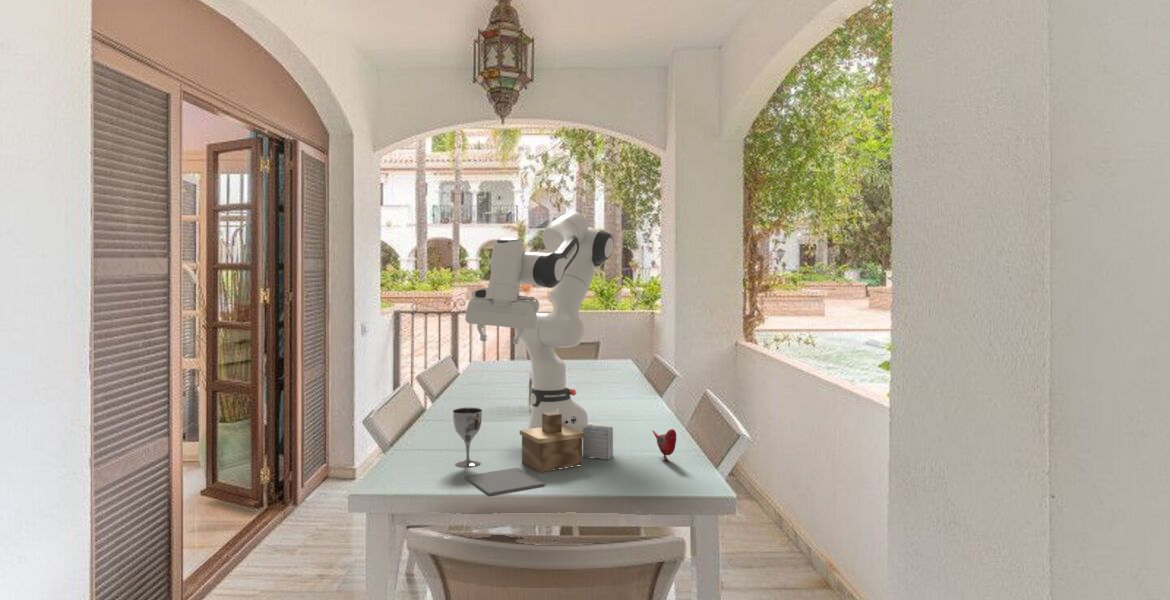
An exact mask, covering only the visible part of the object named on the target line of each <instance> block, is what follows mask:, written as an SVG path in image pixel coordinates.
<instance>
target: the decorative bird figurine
mask: <svg viewBox="0 0 1170 600" xmlns="http://www.w3.org/2000/svg"><path fill="white" fill-rule="evenodd" d="M652 433H653V435H654V437H655V438H656V444H657V447H658V449H659V451H660V453H661V454H662V455H663V457H662V458H663V459H664V461H666V462H667V461H668V463H670V462H671V461H670V460H669V459H668V457H667V456H671V455H672V454H673V453H674V451H675V449H676V444H677V443H676V442H677V432H676V430H675V429H674V428H672V429H669V430H667V431H666V433H664V434H660V435H659V434H657V432H656V431H655V430H652Z"/></svg>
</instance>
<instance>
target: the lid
mask: <svg viewBox="0 0 1170 600" xmlns="http://www.w3.org/2000/svg"><path fill="white" fill-rule="evenodd" d="M519 435H521V437H522V436H524V437H526V438H528V439H530V440H532V441H534V442H537V443H539V444H541V443H548V442H555V441H562V440H569V439H576V438H582V439H583V437H585V433H584V432H581V431H579V430H576V429H574V428H571V427H569V426H566V425H564V424H563V425H562V414H560V413H557V412H546V413H542V427H539V428H531V429H528V428H525V429H519Z"/></svg>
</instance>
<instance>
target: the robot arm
mask: <svg viewBox="0 0 1170 600" xmlns="http://www.w3.org/2000/svg"><path fill="white" fill-rule="evenodd" d="M542 242H543V245H544V247H545V249H546V250H547V251H548V252H534V251H527V250H526V249H525V248H523V244H522V240H521V239H519V238H516V237H500V238H498V239H496V240H495V241H494V243H493V248H492V250H491V257H490V265H489V266H490V278H489V280H488V286H487V287H481V288H479V289H474V290H472V291H471V299H469V301H468V303H467V307H466V310H465V311H466V312H465V321H466V323H467V324H471V325H476V329H477V331H478V333H479V335H480V337H479V340H480V342H487V337H488V335H487V334H485V333H484V331H483V329H484V326H493V327H503V328H513V329H515V334H516V337H512V344H513V345H519V343H520V342H521V343H522V344H523V346H524V347H525V348H526V349H525V350H526V351H527V353H528V356H529V359H530V363H531V372H532V376H531V377H532V387H531V389H530V391H531V393H530V401H531V402H530V403H531V414H530V420H529V424H528V427H527V429H531V428H539V427H542V413H546V412H557V413H560V414H562V425H563V424H564V425H566V426H569V427H571V428H574V429H576V430H579V431H581V432H583V428H584V427H586V426H588V425H593V426H595V424H594V423H592V422H590V421H589V419H588V414H587V411H586V409H585V408H584V407H583V406H582V405H580V404H579V403H578V402H577V401H575V400H573V398H571V396H576V395H577V390H576V389H574V388H568V387H566V385H567V373H566V371H567V366H566V363H565V362H564V361H563V360H562V359H561V358H560V357H559V356H558V354H557V353H556V350H555V348H561V349H562V348H563V349H566V348H572V347H576V346H578V345H580V343H581V342H582V341H583V338H584V336H585V327H584V323H583V322H582V320H581V318H580V316H579V315H580V308H581V306H582V304H583V303H584V299H585V297H586V295H587V293H588V291H589V290H590V287H591V285H592V282H593V279H594V276H595V271H596V268H597V267H601V265H602V264H603V263H605V262H606V261H607V260H608V259H609V258H610V257H611V256H612V253H613V251H614V238H613V236H612V234H611V233H610V232H608V231H606V230H604V229H603V230H602V229H596V228H594V227H590V226H589V221H588V219H587V218H586V216H585V215H584V214H582V213H580V212H577V211H571V212H568V213H565V214H562V215H561V216H558V217H557V218H555V219H554V220H553V221H551V222H550V223H549V224H548V225H547V226H546V227H545V229H544V230H543V233H542ZM520 285H529V286H540V287H543V288H550V289H551V291H550V293H549V298H550V304H552V306H553V307H554V308H553V309H552V311H551V312H550V313H549V312H538V311H539V308H540V302H539V300H538V299H536V298H535V296H526V295H520V290H521V289H520V288H521V286H520Z"/></svg>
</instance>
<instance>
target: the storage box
mask: <svg viewBox="0 0 1170 600" xmlns="http://www.w3.org/2000/svg"><path fill="white" fill-rule="evenodd" d="M521 463H522V464H523V463H524V465H525V464H526V465H525V466H527V465H528V466H527V467H529V466H530V467H531V469H532V468H533V470H534V469H535V470H534V471H536V470H537V471H536V472H538V471H539V472H542V473H545V472H544V471H548V472H550V471H549V470H553V469H559V468H565V467H571V466H577V465H582V466H583V438H576V439H569V440H562V441H555V442H548V443H541V444H539V443H537V442H534V441H532V440H530V439H528V438H526V437H524V436H522V435H521ZM530 467H529V468H530ZM539 472H538V473H539Z"/></svg>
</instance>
